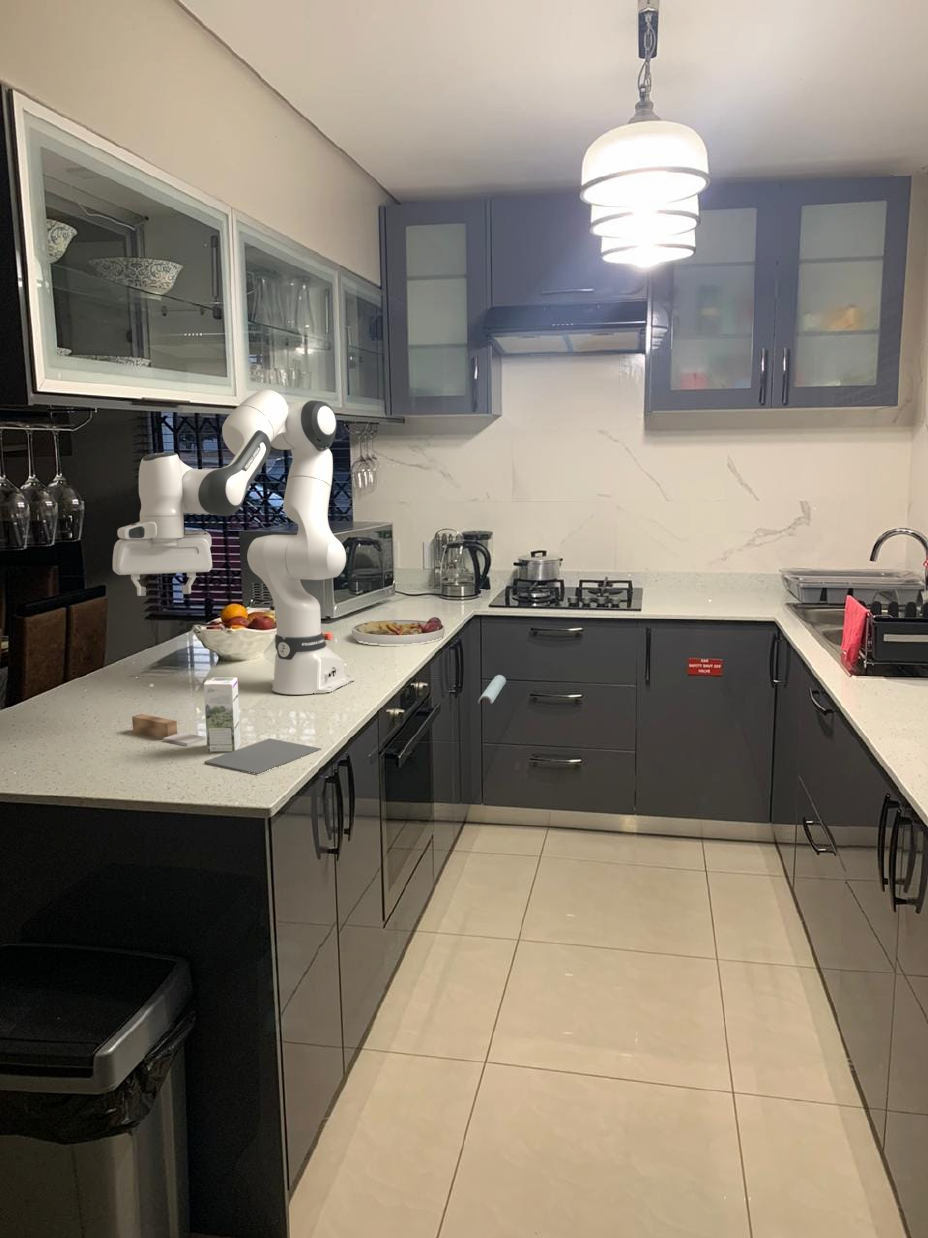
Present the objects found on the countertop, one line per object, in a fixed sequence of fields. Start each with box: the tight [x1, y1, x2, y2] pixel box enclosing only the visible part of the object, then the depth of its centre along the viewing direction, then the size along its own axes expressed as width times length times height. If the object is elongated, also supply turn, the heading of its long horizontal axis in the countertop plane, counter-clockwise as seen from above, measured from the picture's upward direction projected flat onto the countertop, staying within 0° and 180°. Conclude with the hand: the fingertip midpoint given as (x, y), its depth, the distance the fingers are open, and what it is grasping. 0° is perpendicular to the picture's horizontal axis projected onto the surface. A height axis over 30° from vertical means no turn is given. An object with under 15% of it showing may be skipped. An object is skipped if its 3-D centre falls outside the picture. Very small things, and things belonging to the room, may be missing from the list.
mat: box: [204, 738, 322, 775], centre depth 187 cm, size 18×14×1 cm
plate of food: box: [351, 616, 446, 644], centre depth 308 cm, size 30×30×8 cm
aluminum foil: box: [477, 674, 507, 705], centre depth 235 cm, size 23×7×3 cm, turn 169°
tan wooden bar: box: [131, 713, 206, 747], centre depth 202 cm, size 18×5×4 cm, turn 58°
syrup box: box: [203, 676, 241, 754], centre depth 192 cm, size 6×6×14 cm
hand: (164, 594), depth 204 cm, fingers open, 8 cm apart
